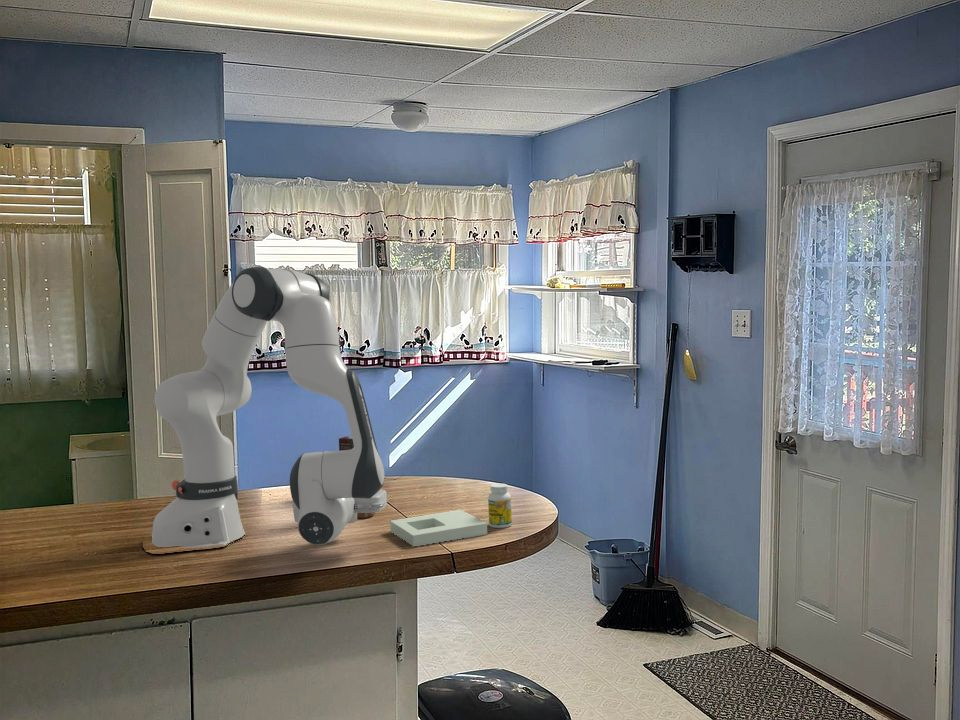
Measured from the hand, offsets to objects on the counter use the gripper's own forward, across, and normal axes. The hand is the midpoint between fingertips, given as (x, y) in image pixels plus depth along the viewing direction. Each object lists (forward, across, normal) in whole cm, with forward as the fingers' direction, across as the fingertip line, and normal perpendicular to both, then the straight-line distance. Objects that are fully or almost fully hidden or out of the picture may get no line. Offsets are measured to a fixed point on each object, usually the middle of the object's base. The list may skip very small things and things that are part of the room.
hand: (346, 491), depth 209 cm
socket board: (+2, -20, +10) cm, 23 cm away
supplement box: (+38, +5, +11) cm, 40 cm away
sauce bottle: (+18, 0, +11) cm, 21 cm away
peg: (-1, 0, +6) cm, 7 cm away
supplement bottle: (+8, -34, +10) cm, 37 cm away
